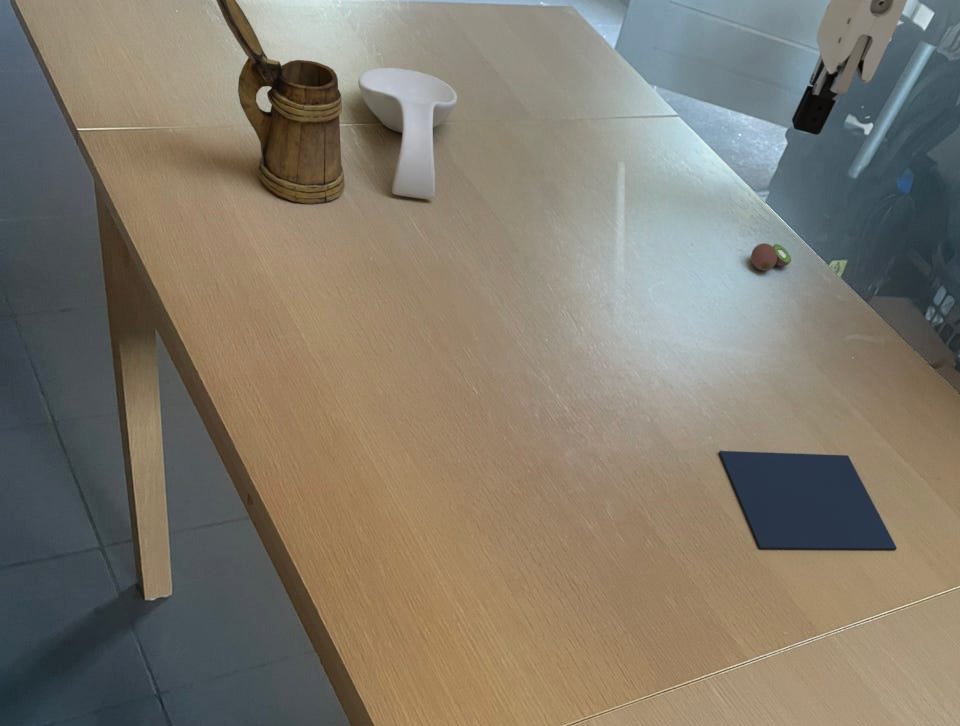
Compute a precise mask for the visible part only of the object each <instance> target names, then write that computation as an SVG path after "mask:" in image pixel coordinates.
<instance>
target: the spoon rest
mask: <svg viewBox="0 0 960 726" xmlns="http://www.w3.org/2000/svg"><path fill="white" fill-rule="evenodd" d="M357 85H358V88H359V93H360V95H361V97H362V99H363V101H364V102H365V104H366V105H367V107H368V108H369V109H370V111H371V112H372V113H373V114H374V115H375V116H376V117H377V118H378V119H379V121H380V123H382V125H383V126H384V127H386V128H387V129H389V130H391V131H394V132H396V133H400V134H402V136H401V143H400V149H399V156H398V160H397V163H396V167H395V172H394V175H393V180H392V185H391V193H392V194H393V195H395V196H398V197H399V196H401V197H408V198H414V199H421V200H432V199H434V198H435V193H436V192H435V191H436V190H435V189H436V187H435V186H436V174H435V173H436V172H435V170H436V169H435V158H434V157H435V156H434V134H433V132H434V131H433V130H434V129H433V128H435V127H437V126H438V125H440V124H441V123H442V122H444V121H445V120H446V118H448V117H449V116H450V114H451V113H452V112H453V110H454V108H455V107H456V105H457V102H458V96H457V92H456V91H455V90H454V89H453V88H452V87H451V86H450V85H449V84H448V83H447V82H445V81H443V80H441V79H440V78H438V77H437V76H436V77H435V76H433V75H431V74H427V73H424V72H422V71H421V72H420V71H416V70H411V69H405V68H398V67H397V68H396V67H377V68H371V69H368V70H365V71H364V72H362V73H361V74H360V75H359V77H358V79H357Z"/></svg>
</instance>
